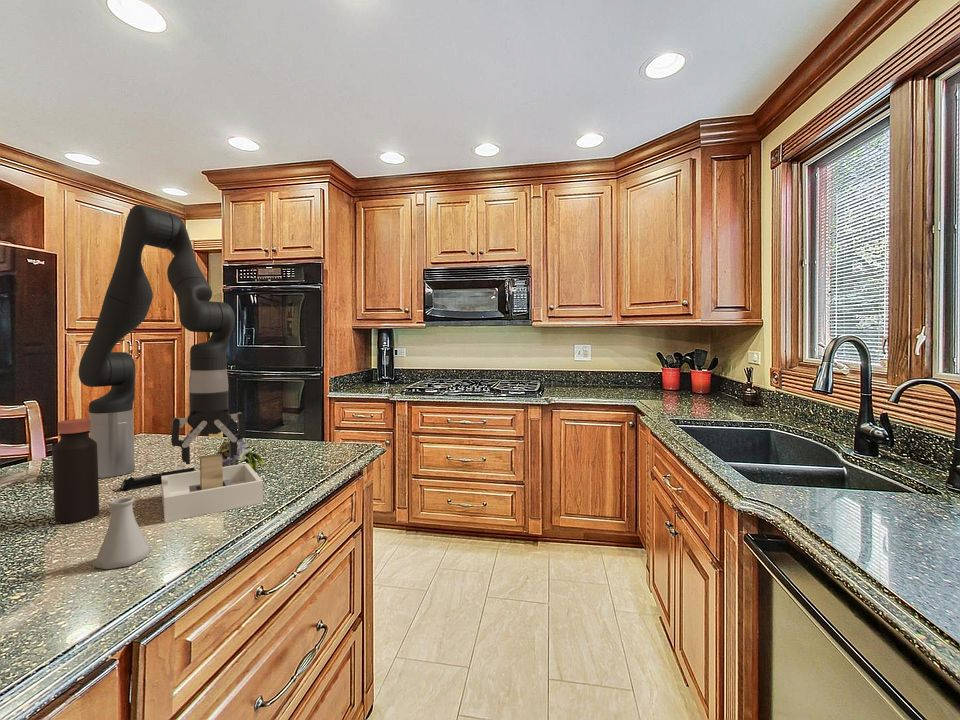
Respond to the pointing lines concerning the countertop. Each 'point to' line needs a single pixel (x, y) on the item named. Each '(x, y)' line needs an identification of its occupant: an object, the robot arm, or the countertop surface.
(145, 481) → the electric trimmer
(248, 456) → the passion flower
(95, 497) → the bottle
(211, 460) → the plug
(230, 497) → the box
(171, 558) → the countertop surface
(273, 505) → the countertop surface
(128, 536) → the flask
